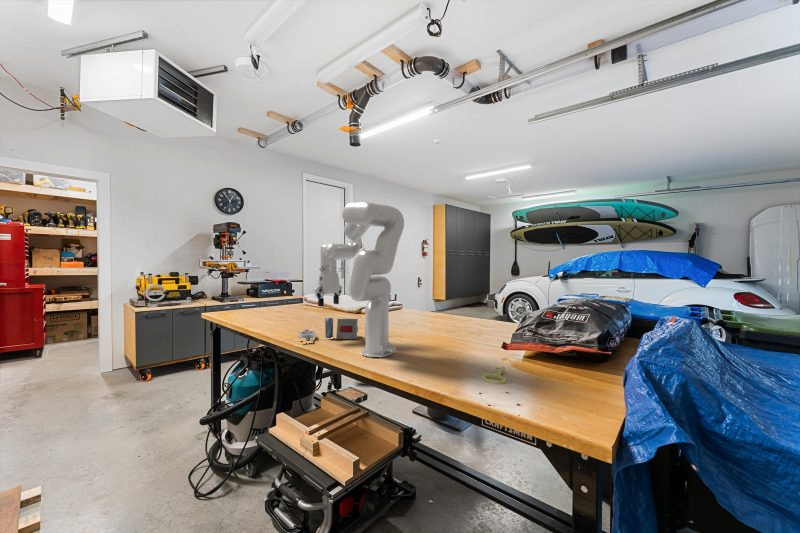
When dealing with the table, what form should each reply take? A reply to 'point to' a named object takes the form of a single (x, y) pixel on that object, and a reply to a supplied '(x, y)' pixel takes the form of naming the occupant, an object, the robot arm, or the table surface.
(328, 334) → the pin
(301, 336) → the chain ends
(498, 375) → the key
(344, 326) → the voltmeter
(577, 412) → the table surface
